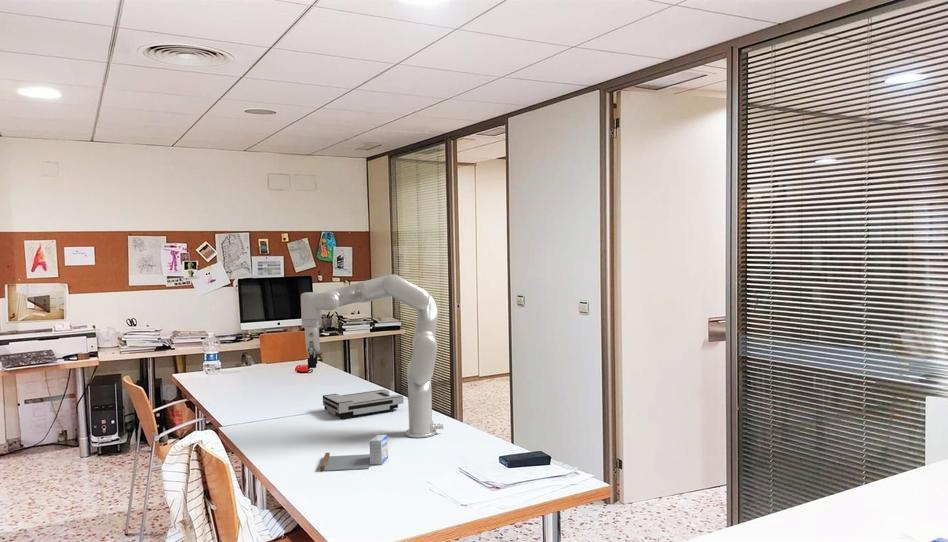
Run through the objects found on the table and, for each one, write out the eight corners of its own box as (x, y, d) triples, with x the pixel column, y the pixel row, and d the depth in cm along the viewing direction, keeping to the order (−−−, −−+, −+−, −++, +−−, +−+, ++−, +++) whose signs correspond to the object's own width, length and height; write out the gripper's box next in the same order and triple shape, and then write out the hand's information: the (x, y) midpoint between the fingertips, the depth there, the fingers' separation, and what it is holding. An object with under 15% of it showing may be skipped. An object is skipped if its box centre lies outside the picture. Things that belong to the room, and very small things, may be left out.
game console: (403, 411, 320) (403, 393, 320) (339, 421, 303) (338, 403, 302) (384, 403, 337) (384, 386, 337) (323, 412, 320) (322, 395, 320)
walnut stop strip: (329, 457, 249) (329, 452, 249) (324, 471, 233) (324, 466, 233) (325, 457, 249) (325, 452, 248) (320, 471, 233) (320, 466, 233)
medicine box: (382, 465, 238) (381, 440, 238) (369, 464, 239) (369, 440, 239) (388, 458, 246) (387, 434, 246) (376, 457, 247) (376, 434, 247)
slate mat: (370, 455, 250) (370, 454, 250) (368, 469, 234) (368, 467, 234) (326, 457, 249) (326, 456, 249) (321, 471, 233) (321, 470, 233)
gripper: (320, 325, 262) (321, 369, 263) (321, 320, 279) (323, 362, 280) (300, 326, 261) (301, 370, 261) (303, 321, 278) (304, 363, 278)
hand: (312, 365), depth 270 cm, fingers open, 9 cm apart
